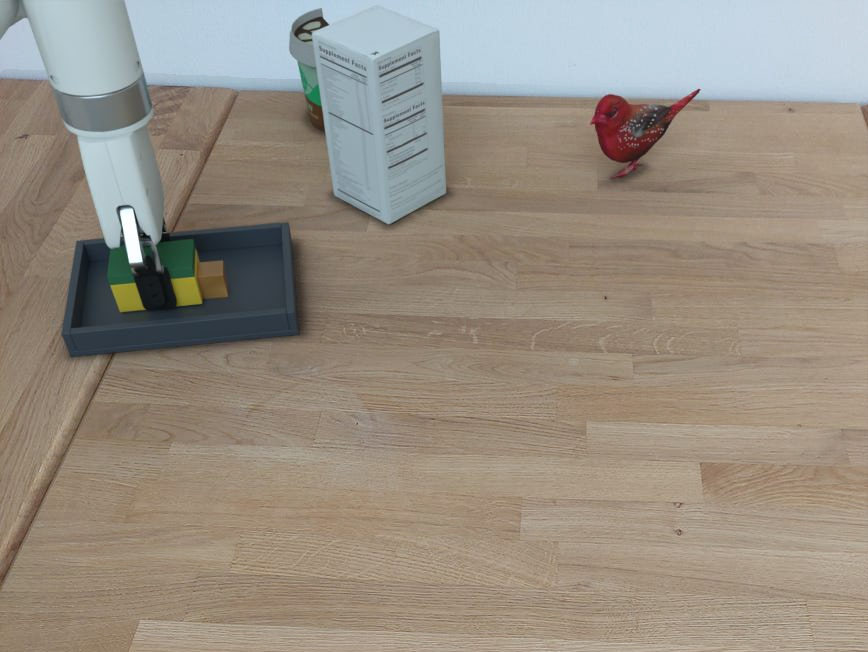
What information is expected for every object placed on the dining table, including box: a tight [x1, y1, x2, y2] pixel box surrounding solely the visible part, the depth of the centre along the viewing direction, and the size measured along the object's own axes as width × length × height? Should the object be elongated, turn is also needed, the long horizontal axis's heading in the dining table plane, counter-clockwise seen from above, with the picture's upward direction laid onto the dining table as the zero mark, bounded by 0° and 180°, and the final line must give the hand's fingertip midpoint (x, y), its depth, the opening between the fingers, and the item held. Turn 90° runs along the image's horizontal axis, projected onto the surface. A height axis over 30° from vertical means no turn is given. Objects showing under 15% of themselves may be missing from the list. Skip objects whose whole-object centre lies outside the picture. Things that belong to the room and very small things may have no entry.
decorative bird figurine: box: [589, 88, 701, 180], centre depth 107 cm, size 3×18×10 cm, turn 130°
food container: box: [288, 7, 330, 133], centre depth 114 cm, size 12×6×10 cm, turn 27°
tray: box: [60, 221, 300, 358], centre depth 96 cm, size 22×16×3 cm
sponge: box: [107, 239, 203, 312], centre depth 94 cm, size 8×5×4 cm, turn 99°
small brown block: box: [197, 260, 228, 299], centre depth 96 cm, size 2×2×2 cm
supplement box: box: [312, 4, 447, 225], centre depth 101 cm, size 10×9×17 cm
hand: (161, 287), depth 96 cm, fingers closed on sponge, 5 cm apart
